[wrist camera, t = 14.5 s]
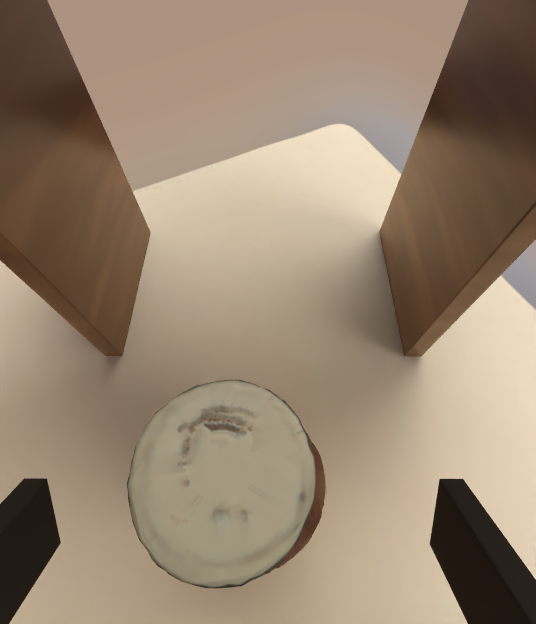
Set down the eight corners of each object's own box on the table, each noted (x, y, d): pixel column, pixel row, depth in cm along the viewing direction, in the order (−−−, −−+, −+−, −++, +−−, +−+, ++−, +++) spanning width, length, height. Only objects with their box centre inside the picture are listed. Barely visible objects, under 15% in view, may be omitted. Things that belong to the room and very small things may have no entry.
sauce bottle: (252, 424, 27) (214, 274, 10) (322, 474, 25) (431, 402, 8) (197, 503, 24) (10, 494, 7) (271, 566, 23) (264, 762, 5)
